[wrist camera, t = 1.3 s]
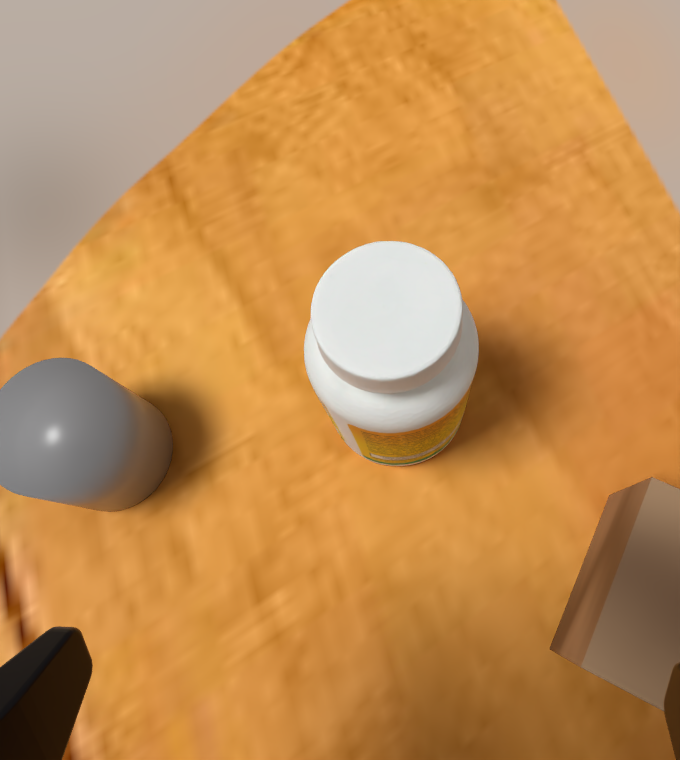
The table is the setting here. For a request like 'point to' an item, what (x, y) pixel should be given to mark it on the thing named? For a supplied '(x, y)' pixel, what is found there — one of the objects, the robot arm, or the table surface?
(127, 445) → the gray capsule
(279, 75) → the table surface
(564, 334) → the table surface
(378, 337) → the supplement bottle
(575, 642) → the walnut block
